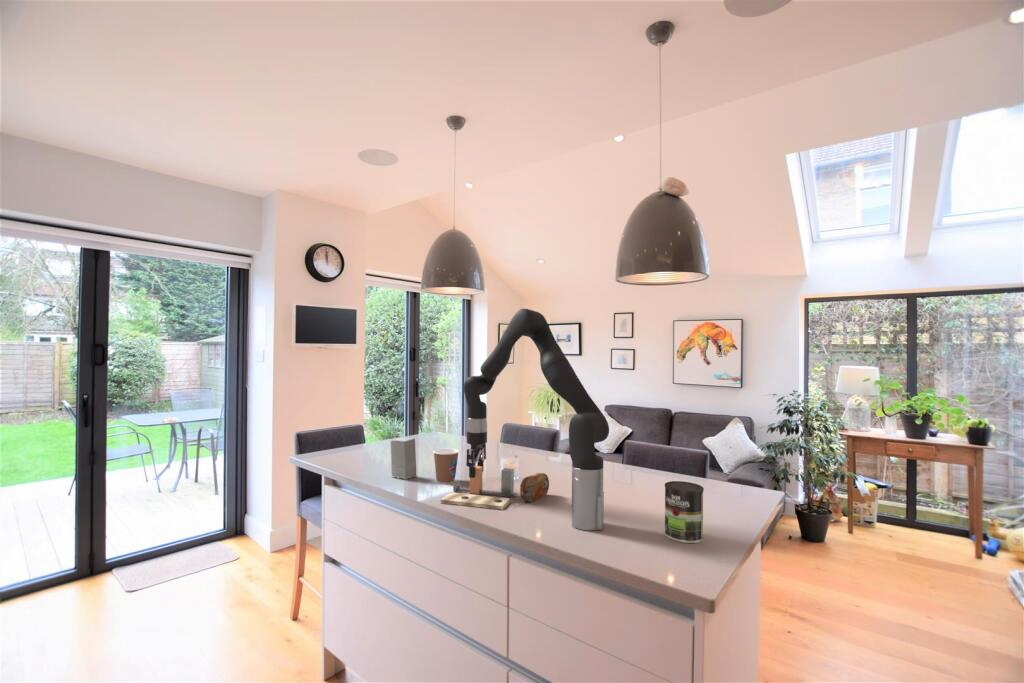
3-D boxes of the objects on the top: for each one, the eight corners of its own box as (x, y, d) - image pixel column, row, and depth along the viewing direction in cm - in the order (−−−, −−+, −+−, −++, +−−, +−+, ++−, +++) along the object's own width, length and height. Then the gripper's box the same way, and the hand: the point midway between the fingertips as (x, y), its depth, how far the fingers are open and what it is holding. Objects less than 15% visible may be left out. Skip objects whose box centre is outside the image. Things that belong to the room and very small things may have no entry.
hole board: (510, 501, 159) (510, 497, 159) (502, 509, 150) (502, 505, 150) (451, 495, 165) (451, 492, 165) (440, 503, 156) (440, 499, 156)
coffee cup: (454, 485, 179) (455, 454, 179) (428, 484, 180) (429, 453, 181) (461, 478, 189) (462, 449, 189) (437, 477, 190) (437, 448, 191)
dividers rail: (516, 495, 167) (517, 469, 167) (514, 498, 163) (514, 471, 164) (457, 489, 173) (457, 464, 174) (453, 491, 170) (453, 466, 170)
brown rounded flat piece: (525, 504, 156) (526, 479, 157) (518, 503, 158) (518, 478, 158) (549, 495, 168) (550, 471, 169) (542, 493, 170) (542, 470, 170)
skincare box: (416, 477, 190) (417, 438, 191) (404, 480, 184) (405, 440, 185) (401, 474, 195) (402, 436, 196) (389, 477, 189) (390, 438, 190)
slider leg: (482, 491, 170) (482, 466, 171) (478, 494, 167) (479, 468, 167) (473, 490, 171) (473, 465, 172) (469, 493, 168) (470, 467, 168)
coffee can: (693, 546, 122) (693, 493, 123) (657, 535, 130) (657, 485, 130) (709, 536, 130) (709, 486, 130) (674, 527, 137) (675, 479, 138)
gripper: (480, 433, 162) (479, 480, 161) (492, 428, 176) (492, 471, 175) (460, 432, 164) (459, 478, 163) (474, 427, 178) (473, 470, 177)
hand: (476, 474), depth 169 cm, fingers open, 8 cm apart
